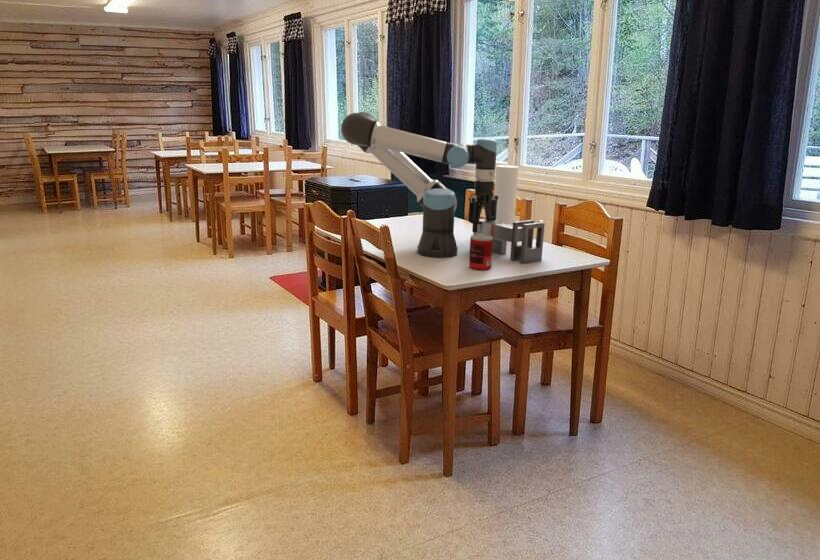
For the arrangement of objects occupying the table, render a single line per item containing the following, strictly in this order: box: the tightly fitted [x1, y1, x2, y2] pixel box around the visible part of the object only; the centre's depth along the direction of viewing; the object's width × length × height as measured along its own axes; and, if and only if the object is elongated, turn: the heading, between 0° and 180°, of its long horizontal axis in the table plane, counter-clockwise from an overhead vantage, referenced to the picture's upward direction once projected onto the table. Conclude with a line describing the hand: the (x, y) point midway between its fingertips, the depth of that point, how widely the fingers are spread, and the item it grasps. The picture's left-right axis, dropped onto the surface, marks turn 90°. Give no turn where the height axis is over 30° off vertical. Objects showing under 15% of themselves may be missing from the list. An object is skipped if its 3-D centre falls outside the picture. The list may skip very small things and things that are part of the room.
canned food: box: [468, 234, 493, 271], centre depth 212 cm, size 8×8×11 cm
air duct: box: [475, 218, 523, 243], centre depth 235 cm, size 22×5×5 cm, turn 36°
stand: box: [492, 238, 508, 255], centre depth 238 cm, size 2×11×5 cm, turn 36°
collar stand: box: [509, 219, 546, 265], centre depth 224 cm, size 12×7×14 cm, turn 126°
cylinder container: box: [493, 164, 519, 225], centre depth 266 cm, size 9×9×30 cm
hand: (481, 239), depth 243 cm, fingers closed on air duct, 5 cm apart
